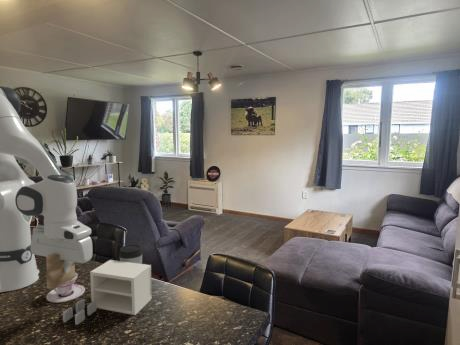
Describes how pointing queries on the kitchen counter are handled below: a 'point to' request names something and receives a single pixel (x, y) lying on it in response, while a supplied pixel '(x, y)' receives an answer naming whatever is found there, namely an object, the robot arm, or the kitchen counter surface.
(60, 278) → the door
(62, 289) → the teacup
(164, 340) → the kitchen counter surface
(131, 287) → the cabinet
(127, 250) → the coffee cup
